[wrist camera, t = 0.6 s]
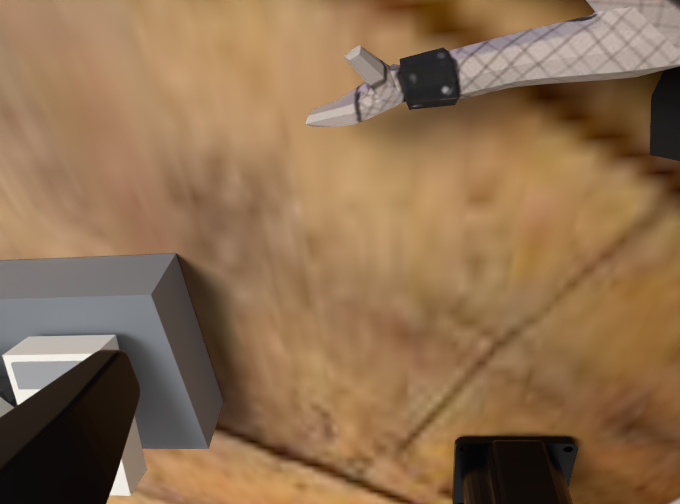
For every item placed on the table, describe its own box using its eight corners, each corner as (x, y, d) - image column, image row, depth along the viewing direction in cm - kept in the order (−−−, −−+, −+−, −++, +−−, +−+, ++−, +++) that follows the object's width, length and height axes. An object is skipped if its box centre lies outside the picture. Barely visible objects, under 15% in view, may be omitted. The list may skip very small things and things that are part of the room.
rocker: (147, 469, 24) (129, 498, 22) (66, 468, 25) (43, 496, 23) (115, 334, 22) (93, 355, 20) (28, 336, 22) (-1, 357, 21)
